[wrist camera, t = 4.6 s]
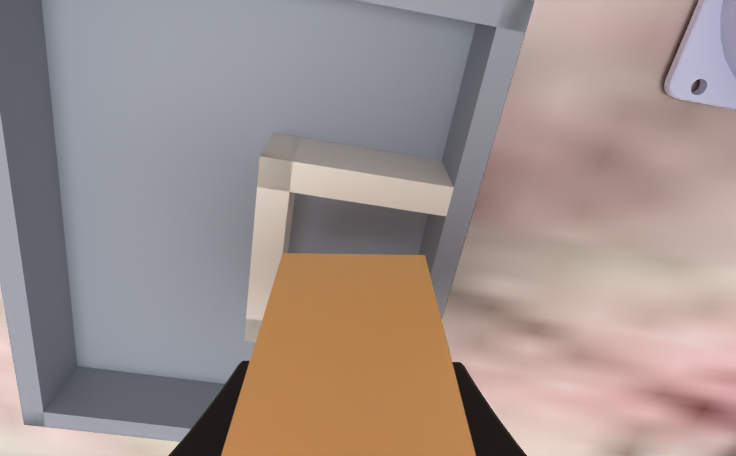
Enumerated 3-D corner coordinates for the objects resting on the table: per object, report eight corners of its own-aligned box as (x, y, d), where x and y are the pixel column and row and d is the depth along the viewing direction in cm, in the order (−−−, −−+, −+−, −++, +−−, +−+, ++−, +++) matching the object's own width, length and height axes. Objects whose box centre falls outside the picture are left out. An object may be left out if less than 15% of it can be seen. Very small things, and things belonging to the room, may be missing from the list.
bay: (505, -3, 16) (534, 0, 13) (394, 411, 24) (398, 466, 21) (11, -100, 15) (-68, -119, 12) (64, 371, 22) (24, 424, 20)
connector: (425, 255, 13) (506, 577, 6) (415, 367, 14) (471, 734, 7) (282, 253, 13) (184, 577, 6) (288, 366, 14) (217, 736, 7)
